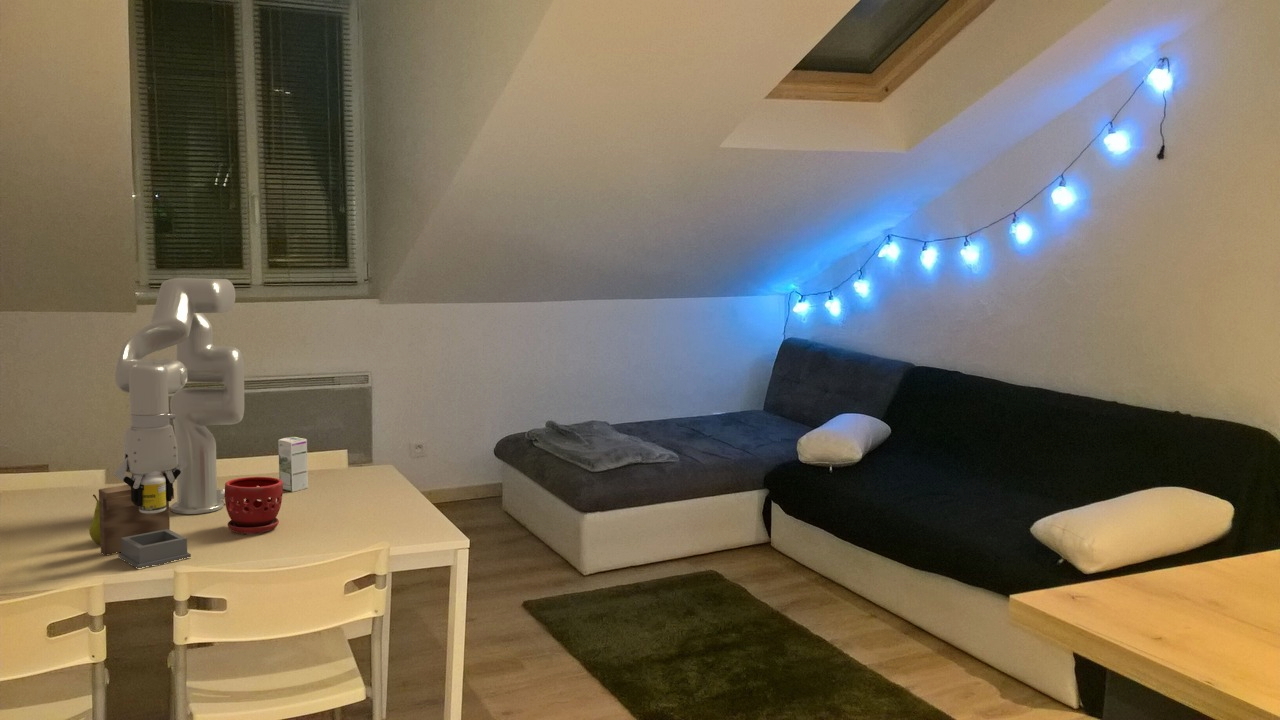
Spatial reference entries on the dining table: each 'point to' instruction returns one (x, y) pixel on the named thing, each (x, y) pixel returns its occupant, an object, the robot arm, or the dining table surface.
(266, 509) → the plant pot
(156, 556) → the socket
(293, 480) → the syrup box
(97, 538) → the fruit
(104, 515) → the wooden block
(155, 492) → the supplement bottle
